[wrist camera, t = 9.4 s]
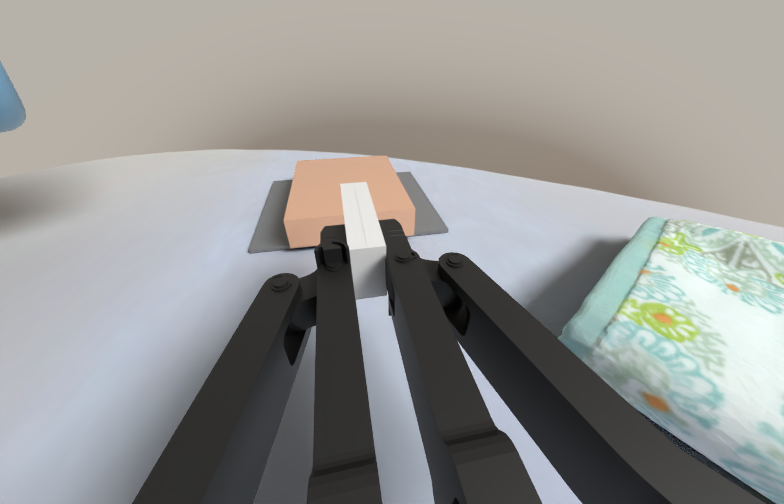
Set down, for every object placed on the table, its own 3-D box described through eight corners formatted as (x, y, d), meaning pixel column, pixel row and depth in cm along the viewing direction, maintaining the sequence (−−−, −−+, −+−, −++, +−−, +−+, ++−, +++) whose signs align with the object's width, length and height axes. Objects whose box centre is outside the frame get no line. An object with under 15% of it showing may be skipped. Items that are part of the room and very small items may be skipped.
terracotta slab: (283, 220, 25) (297, 160, 38) (291, 250, 27) (301, 184, 40) (415, 208, 27) (386, 155, 40) (413, 237, 29) (386, 178, 42)
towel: (961, 362, 19) (1072, 308, 16) (1215, 854, 7) (1798, 1006, 4) (634, 243, 30) (661, 198, 27) (534, 365, 18) (562, 311, 15)
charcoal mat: (249, 253, 27) (248, 249, 27) (274, 183, 41) (273, 181, 41) (447, 232, 30) (448, 229, 30) (410, 174, 44) (410, 171, 44)
